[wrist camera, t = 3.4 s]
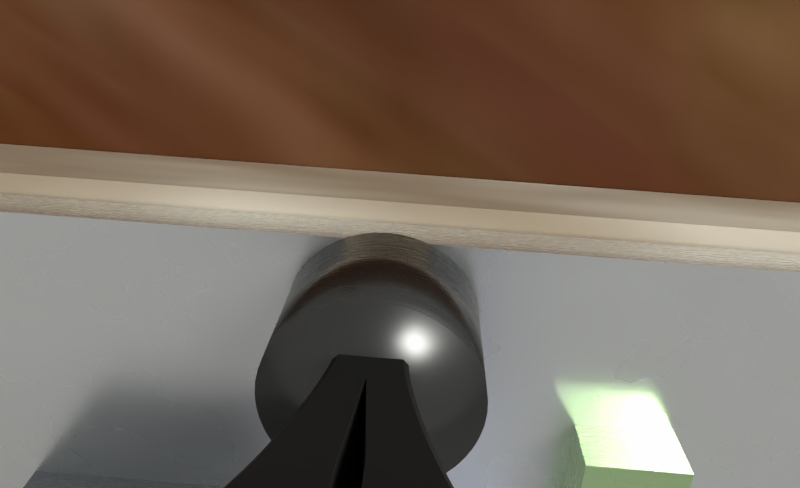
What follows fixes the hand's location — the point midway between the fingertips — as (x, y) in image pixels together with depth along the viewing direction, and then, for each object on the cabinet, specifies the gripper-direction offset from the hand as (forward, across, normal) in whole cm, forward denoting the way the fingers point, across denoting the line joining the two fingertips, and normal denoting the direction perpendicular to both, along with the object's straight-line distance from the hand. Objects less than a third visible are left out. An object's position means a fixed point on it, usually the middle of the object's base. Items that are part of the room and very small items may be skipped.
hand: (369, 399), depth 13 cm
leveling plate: (+4, 0, +5) cm, 6 cm away
